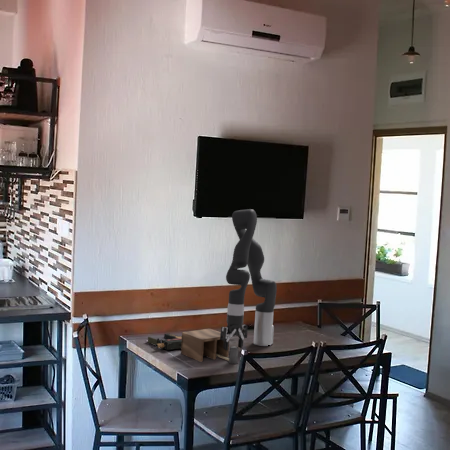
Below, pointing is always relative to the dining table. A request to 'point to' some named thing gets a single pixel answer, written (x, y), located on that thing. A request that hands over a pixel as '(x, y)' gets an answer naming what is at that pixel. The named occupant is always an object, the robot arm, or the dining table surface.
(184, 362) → the dining table surface
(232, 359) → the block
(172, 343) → the submachine gun
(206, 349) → the shelf
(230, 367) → the dining table surface
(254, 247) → the robot arm
